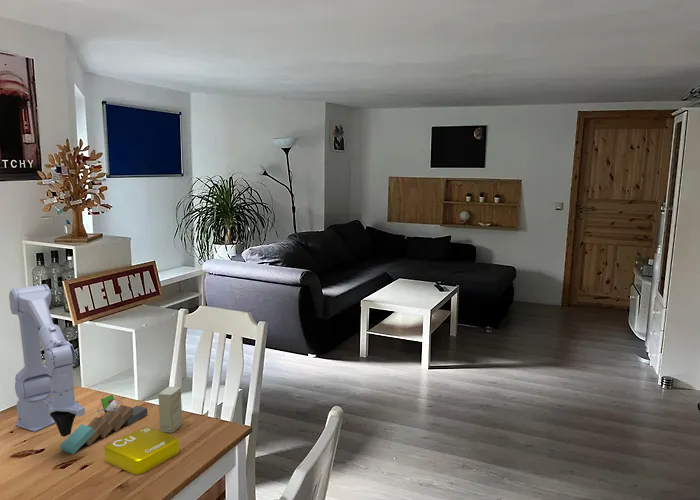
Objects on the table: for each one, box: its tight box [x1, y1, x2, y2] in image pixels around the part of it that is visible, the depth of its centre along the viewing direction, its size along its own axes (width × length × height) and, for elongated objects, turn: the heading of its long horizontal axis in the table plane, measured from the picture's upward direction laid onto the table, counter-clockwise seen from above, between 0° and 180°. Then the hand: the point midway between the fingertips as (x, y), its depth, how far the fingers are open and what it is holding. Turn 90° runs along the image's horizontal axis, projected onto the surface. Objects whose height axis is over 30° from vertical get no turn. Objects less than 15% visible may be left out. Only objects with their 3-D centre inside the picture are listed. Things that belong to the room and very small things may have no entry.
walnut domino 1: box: [83, 416, 109, 447], centre depth 164 cm, size 4×2×8 cm
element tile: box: [104, 426, 180, 475], centre depth 156 cm, size 15×15×5 cm
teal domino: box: [59, 423, 95, 455], centre depth 160 cm, size 4×2×8 cm
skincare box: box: [157, 385, 183, 434], centre depth 171 cm, size 6×4×12 cm
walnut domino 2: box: [97, 410, 122, 439], centre depth 169 cm, size 4×2×8 cm
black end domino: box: [123, 405, 148, 426], centre depth 178 cm, size 4×2×8 cm
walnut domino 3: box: [110, 404, 134, 433], centre depth 173 cm, size 4×2×8 cm
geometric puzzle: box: [97, 393, 123, 415], centre depth 179 cm, size 7×7×8 cm
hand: (65, 434), depth 156 cm, fingers closed
